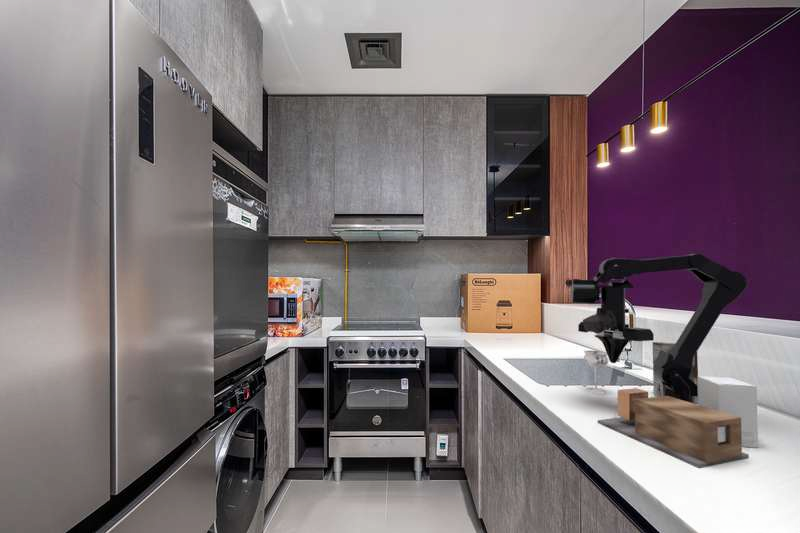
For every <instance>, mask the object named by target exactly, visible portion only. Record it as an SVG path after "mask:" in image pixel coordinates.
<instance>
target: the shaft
mask: <svg viewBox="0 0 800 533" xmlns="http://www.w3.org/2000/svg"><path fill="white" fill-rule="evenodd" d="M642 398H649V391H647V390H644V389H640V388H637V387H634V388H625V389H617V416H618V417H622V418H625V419H628V420H635V399H642ZM724 441H726V426H719V427H718V443H719V442H724Z"/></svg>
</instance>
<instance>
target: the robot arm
mask: <svg viewBox="0 0 800 533" xmlns="http://www.w3.org/2000/svg"><path fill="white" fill-rule="evenodd" d="M598 269H599V270H598V272H597V273H596V275H595V276H593V278H592V279H580V278H573V279H571V287H570V288H571V290H570V291H569V292H570V302H571V304H588V305H589V304H590V305H594V304H595V303H596V301H597V302H598V301H599V300H600V307H597V308H596V313H595V314H592V315H589V316H587V317H585V318H584V319H582V321H580V322H579V324H578V328H577V329H578V330H577V331H578V332H581V333H589V332H590V333H594V337H595V338H597V339H598V340H599V341H601V343H602V344H603V346H604V349H605V352H606V353H607V357H608V360H609V362H610V363H611V364H616V363H617V362H618V359H619V358H620V356H621V354H622V353H623V350H624V349H625V347H626V346H627V345H628V343H629V342H630V341H634V342H650V341H654V332H653V331H652V329H650V328H644V327H630V324H627V323H626V314H629V312H630V310H629V308H626V289H634V288H635V285H634V284H632V283H631V282H630V281H629V280H628V279H627V278H629V277H632V276H636V275H641V274H647V273H657V272H658V273H660V272H668V271H669V272H670V271H683V270H684V271H685V270H688V271H689V272H690V273H691V274H693V276H695V277H696V278H697V279H698V280H700V281H701V282H702V283H704V285H703V287H702V291H701V292H702V294H701V295H702V296H701V301H700V302H699V304H698V306H697V307H696V309H695V311H694V313H693V315H692V316H691V317H690V319H689V321H688V323H687V324H686V326H685V328H684V329H683V331H682V332H681V334H680V336H679V337H678V339H677V340H676V341H675V343H676V344H675V345H674V347H673V348H672V349H670V350H669V351H668V352H665V351H663V350H660V352H659V354H658V356H657V358H656V359H655V360H654V361H653V360H652V364H653V363H654V366H653V365H652V372H653V371H654V374H655V375H656V377H657V378H659V379H660V380H661V382H662V384H663V386H665V387H667V388H666V390H665V396H670V397H673V398H677V399H680V400H683V401H687V402H690V403H693V404H696V403H695V396H696V397H698V386H697V385H696V384H695V383H694V382H693V381H692V380H691V379H690V375H691V372H692V367H693V358H694V355H695V354H696V352H697V353H698V351H699V349H700V347H701V346H702V344H703V342H704V341H705V339H706V338H707V336H708V335H709V333H710V332H711V330H712V328H713V327H714V325H715V323H716V322H717V320H718V318H719V317H720V316H721V313H722V312H723V310H724V309H725V308H727V307H728V306H730V305H731V304H732V303H733V302H735V301H736V300H737V299H738V298H739V297H740V296H741V295H742V294H743V293H744V292H745V291H746V289H747V288H748V283H749V282H748V281H747V278H746V277H745V276H744V274H743V273H740V272H739V271H734V270H733V271H732V270H730V269H729V268H727V267H725V266H723V265H721V264H720V263H717V262H715V261H712V260H711V259H709V258H708V257H706V256H704V254H701V253H692V254H686V255H685V254H684V255H677V256H665V257H656V258H647V259H645V258H644V259H635V258H626V257H620V258H619V257H612V258H609V259H605V260H603V261H602V262H601V263H600V264H599V267H598ZM625 278H626V279H625ZM620 279H622V281H616V280H620ZM611 280H612V281H611ZM613 280H615V281H613ZM609 281H610V282H609ZM608 282H609V283H608ZM606 283H608V285H598V284H606ZM654 342H655V341H654Z"/></svg>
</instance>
